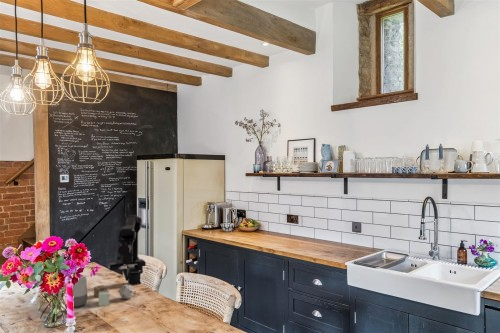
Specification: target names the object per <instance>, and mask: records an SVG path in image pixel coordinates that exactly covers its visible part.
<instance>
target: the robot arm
mask: <svg viewBox="0 0 500 333" xmlns="http://www.w3.org/2000/svg"><path fill="white" fill-rule="evenodd" d="M142 226H143V219H142V217H140V216H138V215H136V214H129V215H128V216H127V217H126V224H125V225H124V226H122V227H121V229H120V230H119V233H118V234H119V235H118V240H117V242H118V243H120V246H119V247H118V249H117V252H118V254H115V262H114V261H113V262H109V263H108V264H107V269H108V270H109V271H117V270H118V269H119V270H120V271H122V273H123V276H124V279H125V281H127V283H128V285H131V284H132V286H134V285H135V286H136V285H140V284H142V282H141V275H142V274H143V273H144V268H143V267H146V261H145V259H143V258H140V257H139V232H140V231H141V229H142ZM117 262H118V263H117Z"/></svg>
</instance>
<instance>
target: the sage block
mask: <svg viewBox="0 0 500 333" xmlns="http://www.w3.org/2000/svg"><path fill="white" fill-rule="evenodd" d="M104 306H106V307H107V306H110V290H107V291H100V292H99V298H98V307H104Z"/></svg>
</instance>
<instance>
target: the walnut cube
mask: <svg viewBox="0 0 500 333" xmlns="http://www.w3.org/2000/svg"><path fill="white" fill-rule="evenodd" d="M100 291H108V286H106V285H104V284H100V285H96V286H94V287H93V297H96V298H97V299H99V292H100Z"/></svg>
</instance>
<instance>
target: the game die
mask: <svg viewBox="0 0 500 333" xmlns="http://www.w3.org/2000/svg"><path fill="white" fill-rule="evenodd" d="M118 292H119V295H120V300H122V299H128V300H129V301H131V298H132V296H133V294H135V290H134V288H133V285H132V284H131V285H130V284H125V283H122V286H121V288H119V290H118Z"/></svg>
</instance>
